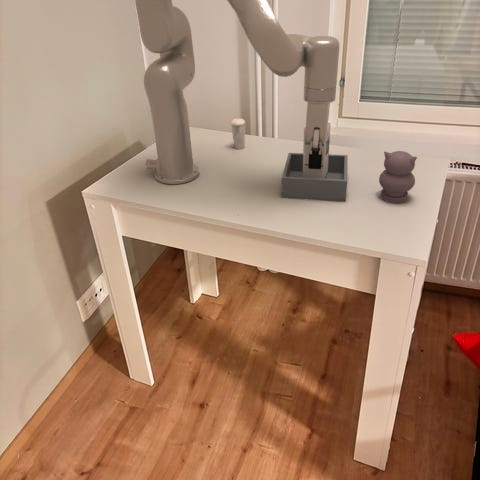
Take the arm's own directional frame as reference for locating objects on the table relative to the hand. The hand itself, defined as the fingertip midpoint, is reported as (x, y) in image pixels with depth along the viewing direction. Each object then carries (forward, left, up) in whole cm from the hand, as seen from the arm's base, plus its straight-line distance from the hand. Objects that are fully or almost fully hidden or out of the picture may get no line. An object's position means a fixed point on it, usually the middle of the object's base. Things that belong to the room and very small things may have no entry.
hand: (315, 162), depth 121 cm
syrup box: (0, 0, -5) cm, 5 cm away
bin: (0, 0, -7) cm, 7 cm away
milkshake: (-25, +24, -7) cm, 35 cm away
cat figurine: (+20, -4, -7) cm, 22 cm away
